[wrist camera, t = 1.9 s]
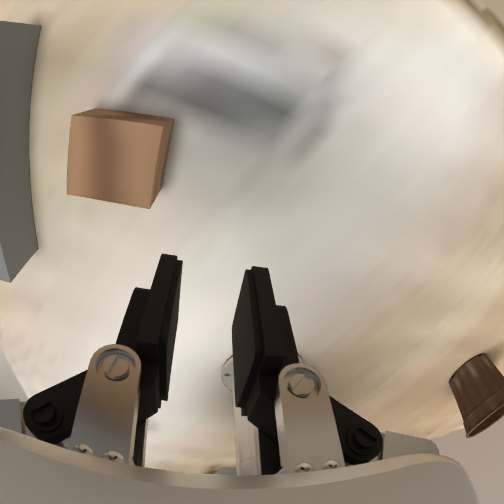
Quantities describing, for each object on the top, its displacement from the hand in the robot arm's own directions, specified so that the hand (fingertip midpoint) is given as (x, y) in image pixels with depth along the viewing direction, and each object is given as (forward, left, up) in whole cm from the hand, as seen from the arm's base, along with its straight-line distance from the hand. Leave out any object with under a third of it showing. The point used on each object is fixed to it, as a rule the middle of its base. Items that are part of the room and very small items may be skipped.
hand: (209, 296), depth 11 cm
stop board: (+24, 0, -19) cm, 31 cm away
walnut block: (+9, 0, -19) cm, 21 cm away
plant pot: (-65, +34, -19) cm, 76 cm away
